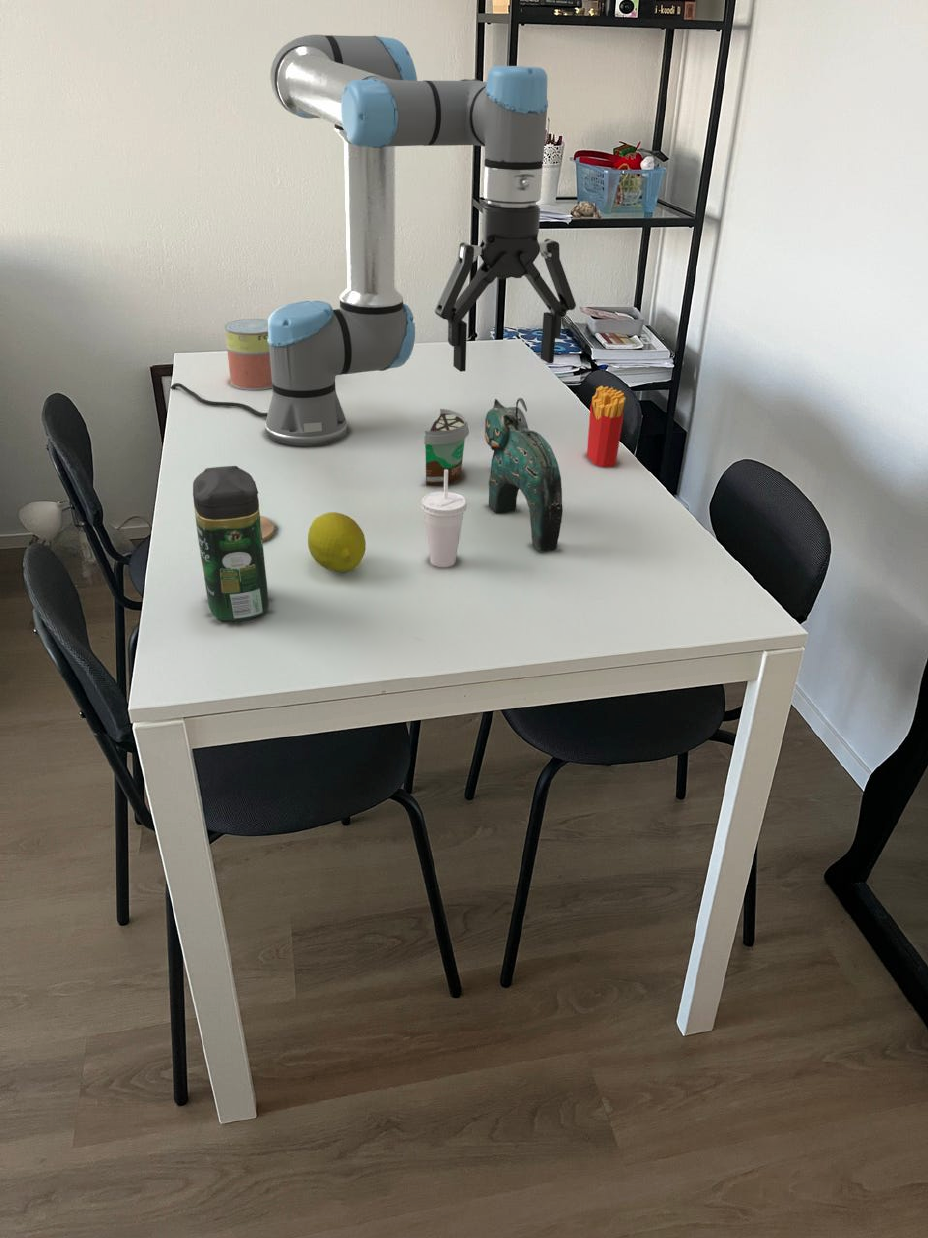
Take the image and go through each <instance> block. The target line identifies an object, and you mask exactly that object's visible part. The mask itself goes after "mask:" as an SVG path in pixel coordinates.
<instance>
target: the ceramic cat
mask: <svg viewBox="0 0 928 1238" xmlns="http://www.w3.org/2000/svg"><path fill="white" fill-rule="evenodd" d="M493 403H494V404H493V406H492V408H491V409H490V410H489V411H487V413H486V416H485V420H484V421H485V423H484V424H485V425H484V439H485V442H486V443H487V445H488V446H489V447H490V448H491V451H493V454H492V458H491V464H490V473H489V479H488V507H489V508H490V509H491V511H493V512H494V513H496V514H506V513H512V512H516V510H517V502H518V501H517V499H518V495H519V490H520V491H521V493H522V495H523V496H524V498H525V500H526V504H527V506H528V511H529V518H530V519H529V520H530V533H531V545H532V547H533V549H534V550H536V551H538V552H540V553H545V552H549V551H555V550H557V547H558V543H559V536H560V533H561V525H562V519H563V510H564V509H563V508H564V507H563V488H562V477H561V472H560V467H559V463H558V461H557V457H556V455H555V453H554V451H553V448H552V447H551V445H550V444H549V442H548V441H547V440H546V439H545V437H543V435H542V434H540V433H539V432H537V431H535V430H530V428H529V427H528V422H527V419H526V417H525V413H524V412H523V411H522V409H520V407H519V403H521V405H522V408H523V409H524V411H525V412H527V411H528V407H527V404H526V401H524V399H523V398H522V397H518V398H517V400H516V403H515V405H516V406H508V407H506V406H504V405H502V403H501V402H500V401H499V400H498V399H497V398H495V399H494V401H493Z"/></svg>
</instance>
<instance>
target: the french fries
mask: <svg viewBox="0 0 928 1238" xmlns="http://www.w3.org/2000/svg"><path fill="white" fill-rule="evenodd" d="M625 403H626V397H625V393H624V392H622V390H621V389H620V390H617V389H614V387H610V388H609V386H603V385H600V386H598V387H597V388H596V390H595V393H594V395H593V396H592V397H591V403H590V405H589V406H590V408H589V422H588V434H587V448H586V457H587V458H588V459H589V460H590V462H592V464H593V465H595V466H598V467H601V468H612V467H614V466H615V465H616V464H617V460H618V452H619V446H620V439H621V434H622V427H623V421H624V415H625V414H624V412H623V410H624V407H625Z"/></svg>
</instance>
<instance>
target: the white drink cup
mask: <svg viewBox="0 0 928 1238" xmlns="http://www.w3.org/2000/svg"><path fill="white" fill-rule="evenodd" d="M421 509H422V510H423V515H424V521H425V531H426V539H427V545H428V546H427V547H428V554H429V560H430V564H431V565H432V566H435V567H439V568H449V567H452V566H454V565H455V564H456V561H457V555H458V550H459V544H460V538H461V531H462V526H463V520H464V515H465V514H464V513H465V512H466V510H467V509H468V507H467V499H466V497H464V496H463V495H461V494H459V493H457V492H453V491H449V484H448V470H447V469H446V470H444V485H443V491H435V492H430V493H427V494H425V495H424V496H423V497H422V499H421Z"/></svg>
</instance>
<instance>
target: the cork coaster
mask: <svg viewBox="0 0 928 1238" xmlns="http://www.w3.org/2000/svg"><path fill="white" fill-rule="evenodd" d="M260 522H261V532H262V542H263V543H264V542H265V541H267V540H269V539H270V538H271V537H273V535H274V533H275V530H276V529H275V524H274V522H273V521H272V520H271V519H270V518H268V517H265V516H262V515H260Z"/></svg>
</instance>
